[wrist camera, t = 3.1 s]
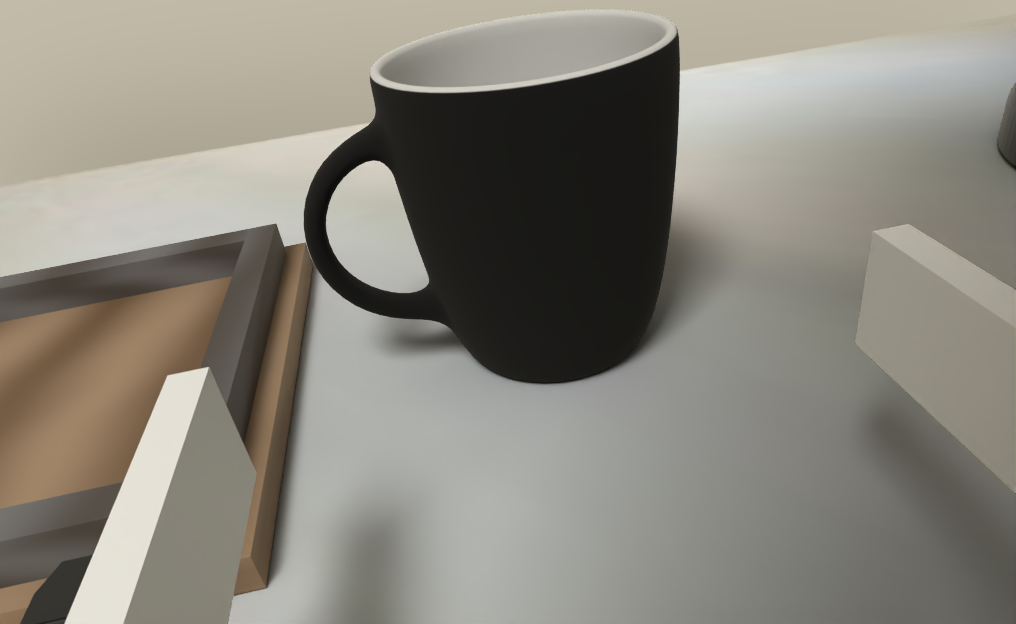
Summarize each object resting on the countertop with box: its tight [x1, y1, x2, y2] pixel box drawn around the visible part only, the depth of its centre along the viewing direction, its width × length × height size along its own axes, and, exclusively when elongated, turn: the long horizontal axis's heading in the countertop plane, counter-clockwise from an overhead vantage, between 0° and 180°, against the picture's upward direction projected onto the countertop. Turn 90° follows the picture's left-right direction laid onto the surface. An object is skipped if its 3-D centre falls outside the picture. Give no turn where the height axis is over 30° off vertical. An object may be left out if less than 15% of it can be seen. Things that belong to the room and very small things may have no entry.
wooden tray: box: [0, 224, 313, 624], centre depth 24 cm, size 18×18×3 cm
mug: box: [304, 9, 680, 383], centre depth 23 cm, size 12×9×10 cm
